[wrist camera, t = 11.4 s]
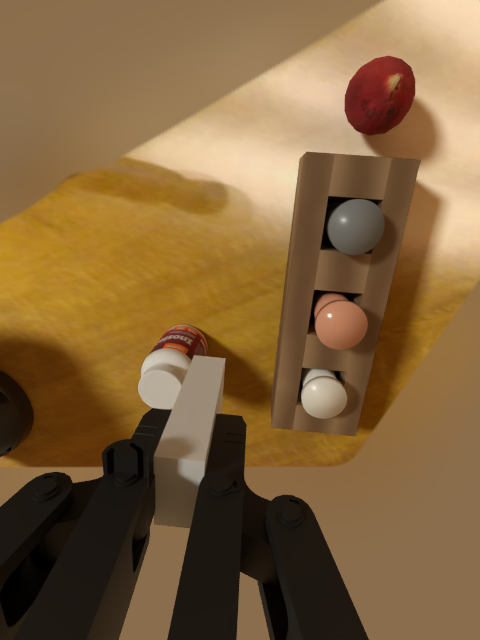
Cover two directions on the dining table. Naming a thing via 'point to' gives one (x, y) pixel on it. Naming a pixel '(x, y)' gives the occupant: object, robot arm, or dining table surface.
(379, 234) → the plug blue-grey
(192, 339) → the pill bottle
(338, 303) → the plug terracotta
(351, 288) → the socket block
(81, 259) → the dining table surface
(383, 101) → the onion
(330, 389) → the plug white
